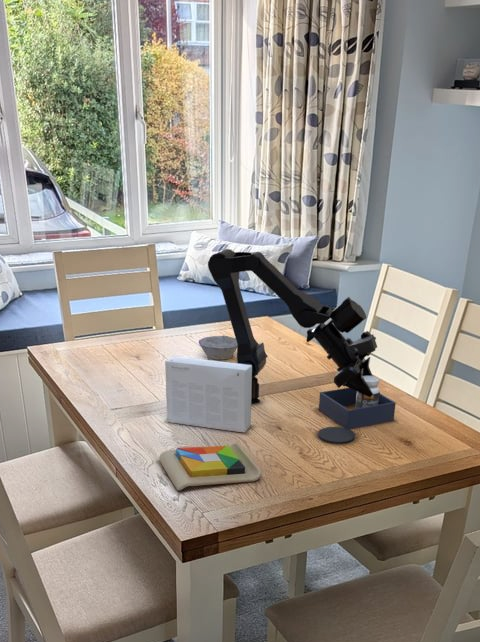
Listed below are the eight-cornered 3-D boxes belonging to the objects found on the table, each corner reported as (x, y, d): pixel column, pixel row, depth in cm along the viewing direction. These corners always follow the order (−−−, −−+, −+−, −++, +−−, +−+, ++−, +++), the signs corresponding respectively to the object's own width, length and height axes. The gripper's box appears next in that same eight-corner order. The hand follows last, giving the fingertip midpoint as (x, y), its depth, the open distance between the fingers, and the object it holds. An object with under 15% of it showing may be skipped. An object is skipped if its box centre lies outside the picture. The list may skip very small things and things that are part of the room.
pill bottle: (363, 421, 190) (367, 383, 185) (350, 413, 194) (353, 376, 189) (381, 417, 192) (385, 380, 187) (367, 409, 197) (372, 373, 192)
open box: (346, 429, 186) (348, 410, 184) (318, 410, 197) (319, 392, 195) (393, 420, 191) (395, 402, 189) (363, 402, 202) (365, 384, 200)
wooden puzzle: (263, 480, 162) (263, 466, 160) (178, 494, 156) (178, 479, 154) (236, 448, 176) (236, 434, 174) (157, 459, 170) (157, 445, 169)
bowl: (197, 350, 241) (197, 335, 239) (237, 349, 242) (237, 334, 240) (200, 363, 230) (199, 347, 227) (241, 362, 231) (241, 346, 229)
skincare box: (252, 425, 188) (253, 364, 180) (245, 433, 183) (245, 371, 176) (174, 414, 194) (172, 354, 186) (166, 422, 189) (163, 361, 181)
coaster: (329, 446, 177) (330, 444, 177) (311, 432, 184) (311, 430, 184) (362, 440, 181) (362, 438, 180) (342, 426, 188) (342, 424, 187)
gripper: (351, 334, 175) (392, 385, 178) (366, 314, 190) (404, 361, 193) (316, 362, 181) (356, 411, 184) (333, 341, 197) (371, 386, 199)
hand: (373, 391), depth 190 cm, fingers closed on pill bottle, 5 cm apart
